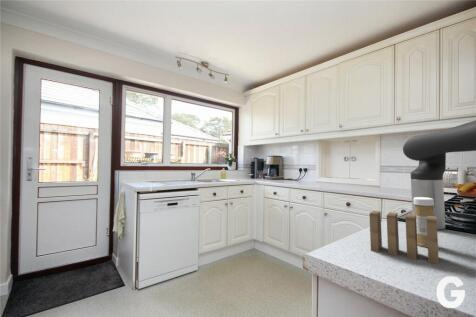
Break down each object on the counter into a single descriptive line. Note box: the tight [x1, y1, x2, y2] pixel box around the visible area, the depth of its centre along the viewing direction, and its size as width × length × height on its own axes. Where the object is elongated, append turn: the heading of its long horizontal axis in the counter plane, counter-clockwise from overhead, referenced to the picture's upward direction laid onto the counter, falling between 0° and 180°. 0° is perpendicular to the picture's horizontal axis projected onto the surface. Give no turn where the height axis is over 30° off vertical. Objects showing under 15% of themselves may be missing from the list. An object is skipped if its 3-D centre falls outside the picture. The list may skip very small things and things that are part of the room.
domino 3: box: [427, 216, 440, 265], centre depth 56 cm, size 5×2×10 cm, turn 139°
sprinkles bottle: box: [414, 197, 434, 248], centre depth 66 cm, size 5×5×13 cm
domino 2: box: [405, 213, 419, 260], centre depth 59 cm, size 5×2×10 cm, turn 139°
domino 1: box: [386, 211, 400, 257], centre depth 62 cm, size 5×2×10 cm, turn 139°
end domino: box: [369, 210, 383, 253], centre depth 64 cm, size 5×2×10 cm, turn 139°
